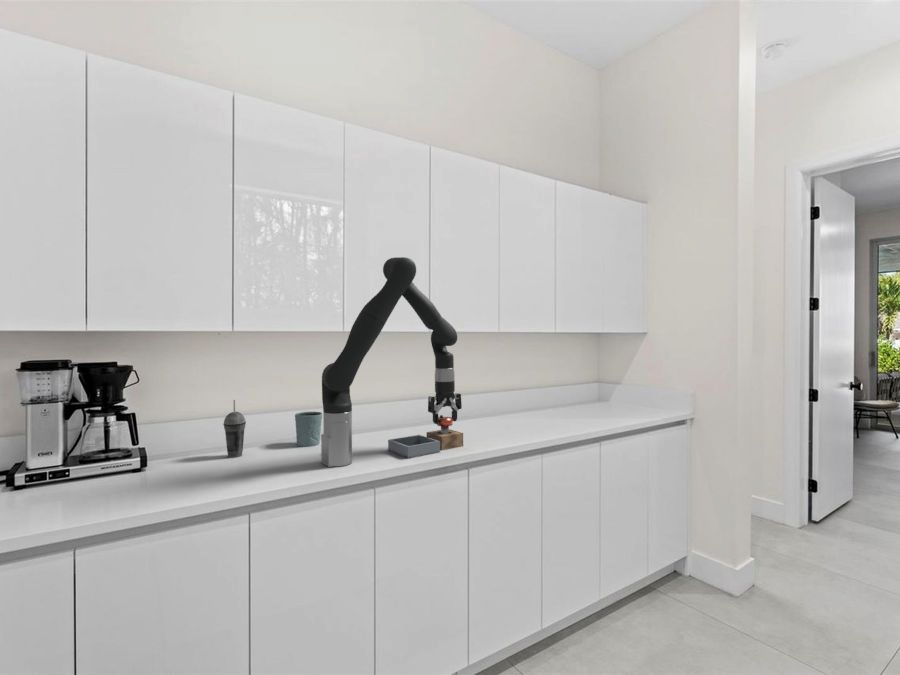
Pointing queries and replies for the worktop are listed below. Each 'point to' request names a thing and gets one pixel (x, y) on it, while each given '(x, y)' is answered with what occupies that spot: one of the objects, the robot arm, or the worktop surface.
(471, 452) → the worktop surface
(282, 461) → the worktop surface
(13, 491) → the worktop surface
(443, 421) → the pin
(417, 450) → the tray
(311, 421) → the teal tapered cylinder
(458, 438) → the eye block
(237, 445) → the beverage cup
